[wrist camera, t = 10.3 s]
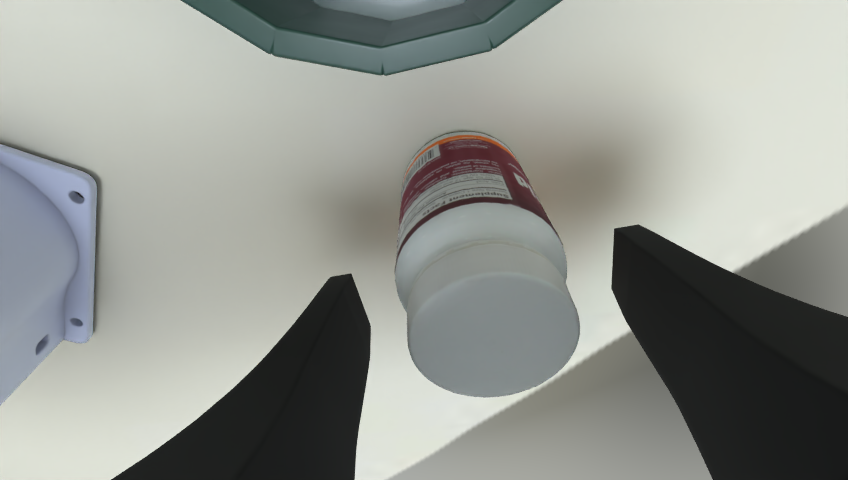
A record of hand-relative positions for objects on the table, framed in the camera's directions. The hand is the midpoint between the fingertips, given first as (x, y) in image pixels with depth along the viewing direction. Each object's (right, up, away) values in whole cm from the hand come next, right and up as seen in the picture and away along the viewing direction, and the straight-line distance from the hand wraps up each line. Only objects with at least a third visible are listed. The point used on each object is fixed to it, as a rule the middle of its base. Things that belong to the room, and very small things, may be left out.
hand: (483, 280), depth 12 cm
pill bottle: (0, +3, +5) cm, 6 cm away
